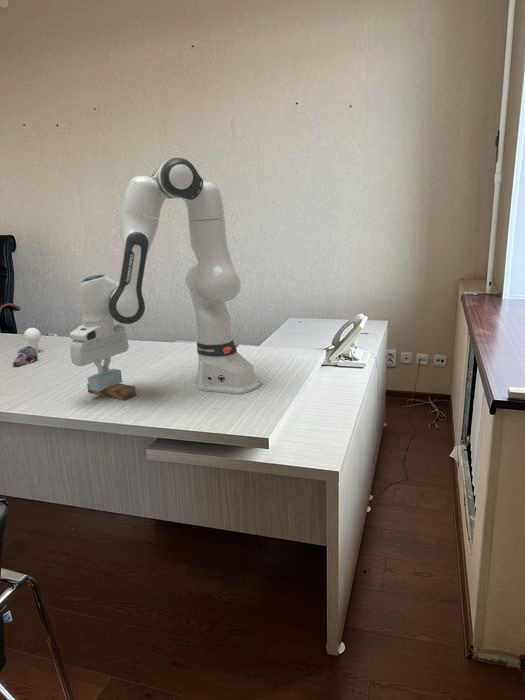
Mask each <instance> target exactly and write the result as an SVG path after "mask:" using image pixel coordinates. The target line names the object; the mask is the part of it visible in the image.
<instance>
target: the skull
mask: <svg viewBox="0 0 525 700" xmlns="http://www.w3.org/2000/svg"><path fill="white" fill-rule="evenodd" d="M17 352H18V353H17V357H15V359H14V360H13V362H12V367H14V366H16V367H17V366H18V367H22V366H26V365H29V364H31V363H33V362H37V360H38V358H39V356H38V353H37V352H36V350H35V348H33V347H32V346H29V345H28V346H25V347H23V348H20V349H19V350H18V351H17Z"/></svg>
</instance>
